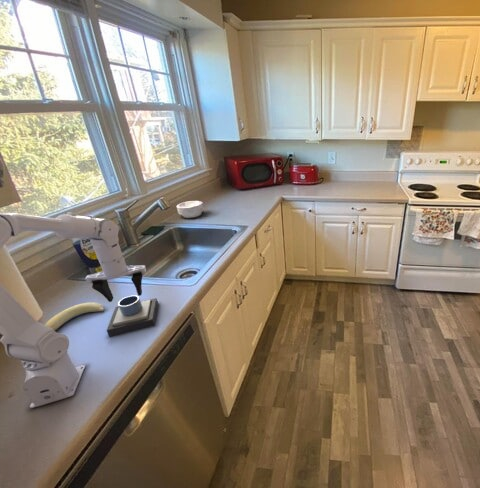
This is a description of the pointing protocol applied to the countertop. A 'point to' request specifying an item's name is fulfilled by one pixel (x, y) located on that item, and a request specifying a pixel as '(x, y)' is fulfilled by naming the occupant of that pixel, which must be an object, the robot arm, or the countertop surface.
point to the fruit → (73, 314)
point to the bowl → (130, 305)
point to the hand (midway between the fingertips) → (126, 296)
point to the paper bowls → (190, 209)
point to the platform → (140, 315)
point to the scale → (136, 324)
